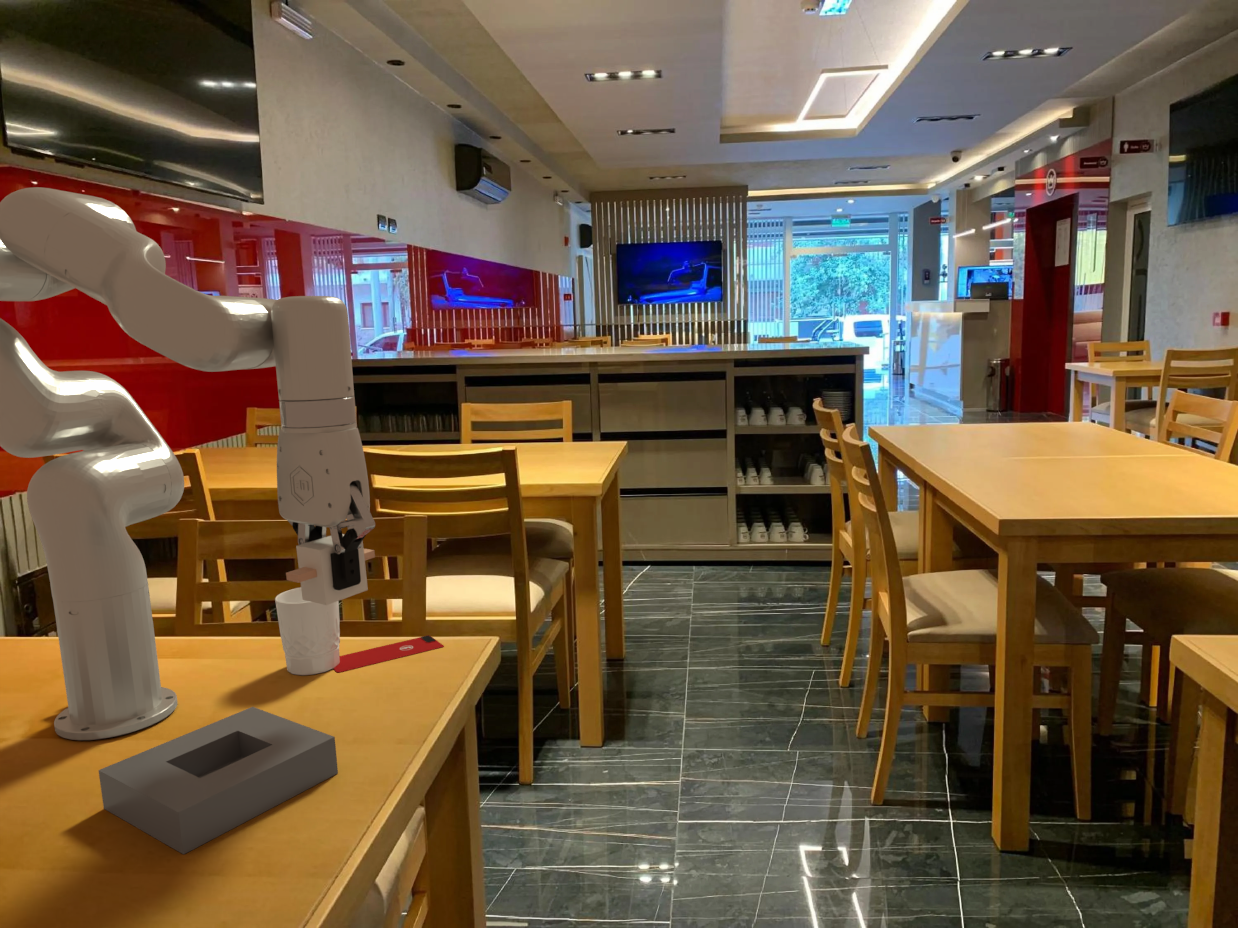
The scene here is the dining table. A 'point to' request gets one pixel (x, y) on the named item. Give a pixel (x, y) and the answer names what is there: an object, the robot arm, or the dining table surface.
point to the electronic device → (387, 653)
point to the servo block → (324, 572)
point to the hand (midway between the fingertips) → (333, 581)
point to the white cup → (308, 633)
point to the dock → (217, 777)
